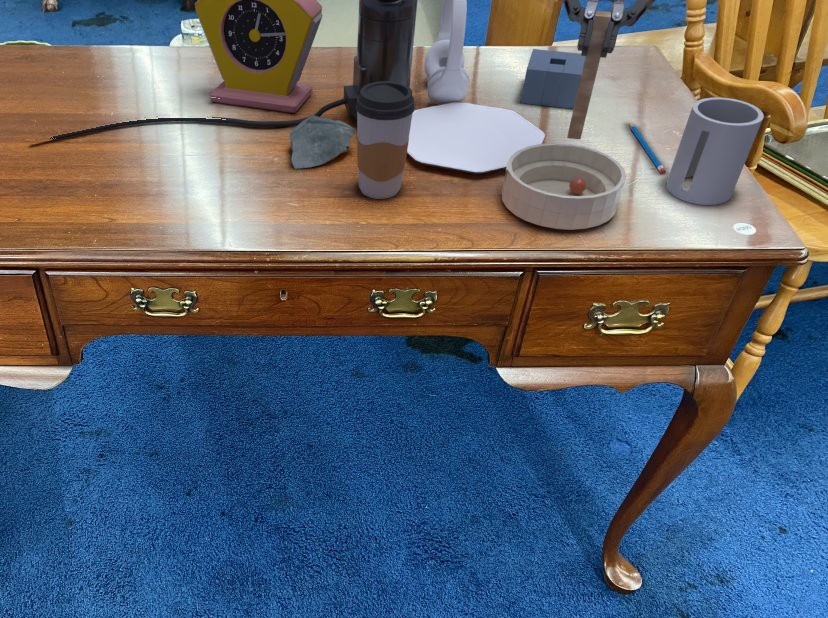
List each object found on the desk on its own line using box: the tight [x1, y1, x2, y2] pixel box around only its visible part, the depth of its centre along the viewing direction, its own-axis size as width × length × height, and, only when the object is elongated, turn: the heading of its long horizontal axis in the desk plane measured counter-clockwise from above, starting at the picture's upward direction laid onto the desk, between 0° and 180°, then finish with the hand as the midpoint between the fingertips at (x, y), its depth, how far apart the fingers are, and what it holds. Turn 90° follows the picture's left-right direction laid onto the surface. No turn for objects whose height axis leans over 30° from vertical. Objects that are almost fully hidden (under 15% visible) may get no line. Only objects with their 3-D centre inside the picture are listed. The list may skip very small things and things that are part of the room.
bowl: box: [501, 142, 627, 231], centre depth 116 cm, size 16×16×6 cm
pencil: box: [629, 123, 667, 175], centre depth 130 cm, size 1×17×1 cm, turn 179°
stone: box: [288, 114, 356, 170], centre depth 130 cm, size 11×4×10 cm
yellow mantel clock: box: [194, 0, 324, 114], centre depth 140 cm, size 22×9×22 cm, turn 69°
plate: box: [407, 101, 546, 175], centre depth 132 cm, size 24×24×2 cm
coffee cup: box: [356, 81, 416, 200], centre depth 117 cm, size 8×8×15 cm
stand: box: [520, 48, 586, 110], centre depth 143 cm, size 10×10×6 cm
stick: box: [566, 10, 611, 141], centre depth 105 cm, size 2×2×16 cm
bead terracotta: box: [569, 178, 586, 195], centre depth 118 cm, size 2×2×2 cm
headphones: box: [423, 0, 470, 106], centre depth 139 cm, size 7×18×20 cm, turn 176°
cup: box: [665, 96, 765, 206], centre depth 116 cm, size 9×9×12 cm
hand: (594, 53), depth 101 cm, fingers closed on stick, 2 cm apart
